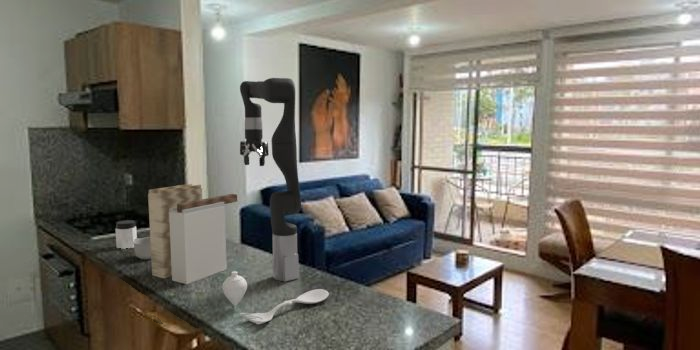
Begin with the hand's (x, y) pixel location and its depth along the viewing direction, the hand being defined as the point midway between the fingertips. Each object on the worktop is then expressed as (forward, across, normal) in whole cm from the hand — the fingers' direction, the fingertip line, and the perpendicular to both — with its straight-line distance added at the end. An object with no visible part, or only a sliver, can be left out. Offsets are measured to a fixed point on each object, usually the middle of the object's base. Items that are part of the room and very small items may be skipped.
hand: (254, 165), depth 202 cm
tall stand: (+40, -13, -32) cm, 53 cm away
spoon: (+41, +50, -41) cm, 77 cm away
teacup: (+40, -40, -27) cm, 63 cm away
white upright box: (+40, -1, -32) cm, 51 cm away
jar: (+40, -62, -21) cm, 77 cm away
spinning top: (+40, +34, -49) cm, 72 cm away
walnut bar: (+14, -1, -26) cm, 29 cm away
